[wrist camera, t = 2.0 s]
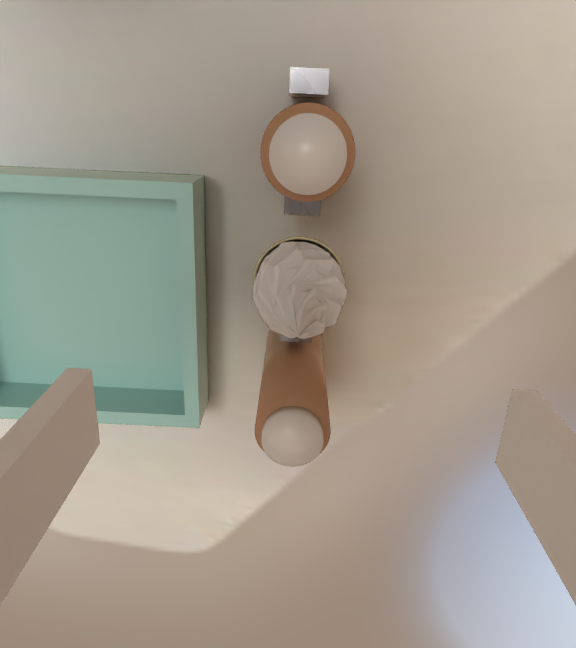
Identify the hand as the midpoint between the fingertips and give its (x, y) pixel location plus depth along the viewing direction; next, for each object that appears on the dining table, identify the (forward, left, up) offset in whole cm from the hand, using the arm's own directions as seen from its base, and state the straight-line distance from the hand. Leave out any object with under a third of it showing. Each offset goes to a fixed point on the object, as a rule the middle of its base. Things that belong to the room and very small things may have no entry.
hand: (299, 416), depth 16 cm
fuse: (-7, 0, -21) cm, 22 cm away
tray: (+4, -15, -21) cm, 26 cm away
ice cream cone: (0, 0, -21) cm, 21 cm away
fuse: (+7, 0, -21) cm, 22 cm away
